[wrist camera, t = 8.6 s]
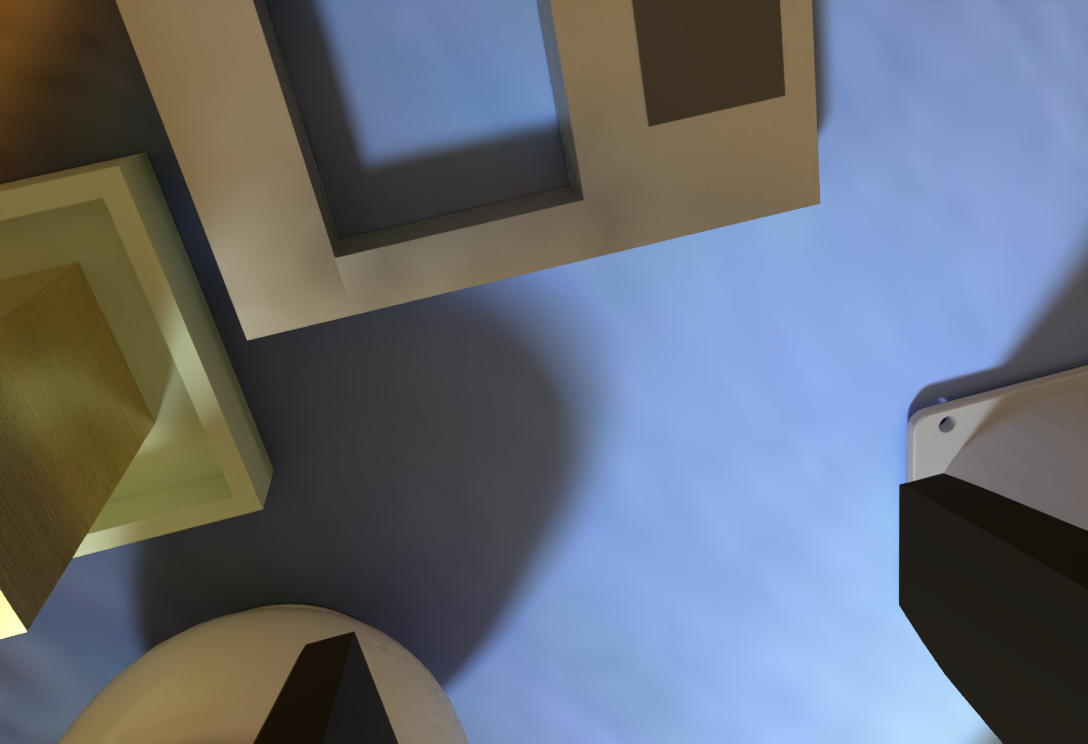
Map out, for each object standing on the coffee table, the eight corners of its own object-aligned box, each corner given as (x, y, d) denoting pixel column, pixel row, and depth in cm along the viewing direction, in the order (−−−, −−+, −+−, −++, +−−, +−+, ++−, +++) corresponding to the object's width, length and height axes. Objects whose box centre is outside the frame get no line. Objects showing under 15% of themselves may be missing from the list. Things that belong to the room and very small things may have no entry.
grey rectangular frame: (766, -202, 16) (803, -226, 14) (788, 190, 19) (821, 204, 18) (114, -72, 15) (82, -84, 13) (258, 315, 18) (246, 341, 17)
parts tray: (146, 152, 16) (118, 165, 15) (273, 469, 20) (262, 509, 18) (-251, 239, 16) (-326, 263, 14) (-50, 551, 19) (-91, 599, 18)
